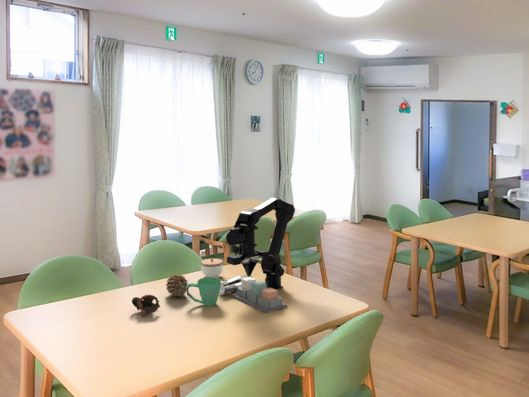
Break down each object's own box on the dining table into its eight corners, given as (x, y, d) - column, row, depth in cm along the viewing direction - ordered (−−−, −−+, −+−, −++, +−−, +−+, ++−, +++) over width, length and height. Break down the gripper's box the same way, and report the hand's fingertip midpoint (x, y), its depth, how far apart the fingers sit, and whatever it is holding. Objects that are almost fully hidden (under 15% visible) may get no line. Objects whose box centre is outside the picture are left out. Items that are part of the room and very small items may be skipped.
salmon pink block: (270, 299, 211) (270, 287, 210) (277, 302, 207) (277, 290, 207) (261, 301, 208) (261, 289, 208) (268, 304, 205) (268, 292, 204)
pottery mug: (163, 309, 208) (164, 296, 203) (153, 327, 200) (153, 313, 195) (136, 300, 209) (136, 287, 204) (125, 318, 202) (124, 304, 197)
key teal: (260, 292, 217) (260, 280, 216) (266, 295, 213) (266, 283, 212) (251, 294, 214) (251, 282, 213) (257, 297, 210) (257, 285, 210)
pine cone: (192, 299, 217) (192, 277, 216) (170, 303, 213) (169, 280, 212) (180, 284, 237) (179, 264, 236) (159, 287, 234) (158, 266, 232)
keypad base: (253, 291, 227) (253, 282, 226) (287, 306, 208) (287, 297, 207) (232, 296, 220) (232, 287, 220) (265, 313, 201) (265, 303, 201)
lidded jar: (198, 279, 245) (198, 260, 243) (204, 273, 255) (204, 254, 254) (220, 280, 243) (220, 261, 242) (225, 274, 253) (225, 255, 252)
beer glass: (219, 296, 225) (248, 289, 233) (225, 295, 219) (255, 288, 227) (215, 281, 226) (245, 274, 234) (222, 279, 220) (252, 272, 228)
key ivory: (250, 287, 223) (249, 276, 222) (256, 290, 219) (255, 279, 218) (241, 289, 220) (241, 278, 219) (247, 292, 216) (247, 281, 216)
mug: (219, 299, 218) (219, 276, 216) (223, 307, 208) (223, 283, 207) (185, 302, 214) (184, 279, 213) (187, 310, 205) (186, 286, 203)
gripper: (255, 234, 228) (255, 268, 231) (219, 240, 217) (220, 276, 220) (270, 239, 219) (270, 274, 222) (233, 245, 208) (234, 282, 211)
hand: (248, 276), depth 219 cm, fingers closed
